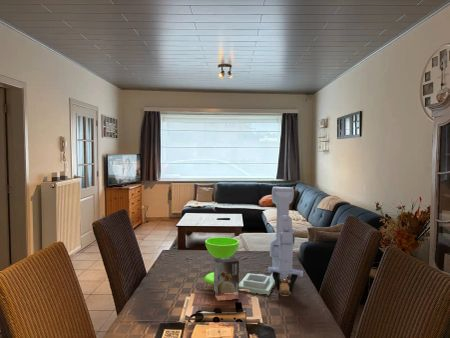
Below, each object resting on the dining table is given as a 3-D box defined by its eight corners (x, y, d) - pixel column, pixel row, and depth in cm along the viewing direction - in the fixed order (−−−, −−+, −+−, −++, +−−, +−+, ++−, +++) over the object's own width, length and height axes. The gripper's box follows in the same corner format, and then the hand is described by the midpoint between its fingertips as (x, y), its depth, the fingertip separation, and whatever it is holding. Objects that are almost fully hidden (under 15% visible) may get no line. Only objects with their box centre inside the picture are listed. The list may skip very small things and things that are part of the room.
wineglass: (235, 286, 160) (236, 246, 160) (200, 283, 164) (201, 244, 163) (240, 274, 176) (241, 238, 175) (209, 272, 179) (209, 236, 178)
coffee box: (234, 293, 152) (235, 256, 152) (238, 299, 146) (239, 260, 145) (213, 295, 150) (214, 257, 149) (216, 302, 144) (217, 262, 143)
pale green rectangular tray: (247, 277, 173) (248, 269, 173) (276, 281, 168) (277, 272, 168) (236, 290, 156) (237, 281, 156) (268, 295, 151) (269, 286, 151)
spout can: (279, 291, 156) (280, 276, 156) (291, 292, 155) (291, 277, 154) (277, 295, 152) (278, 280, 151) (289, 297, 150) (290, 281, 150)
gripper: (266, 259, 151) (265, 291, 152) (301, 264, 146) (300, 296, 147) (270, 255, 158) (269, 285, 158) (303, 259, 153) (302, 290, 154)
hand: (284, 290), depth 153 cm, fingers closed on spout can, 5 cm apart
